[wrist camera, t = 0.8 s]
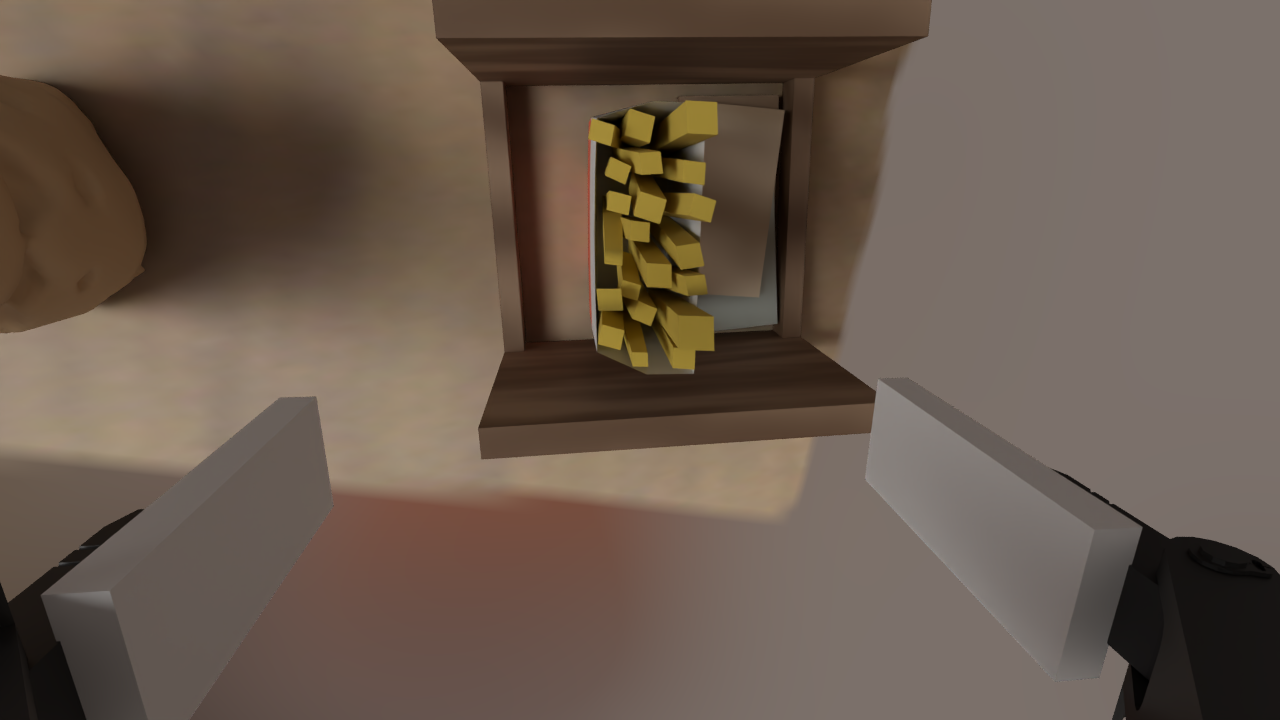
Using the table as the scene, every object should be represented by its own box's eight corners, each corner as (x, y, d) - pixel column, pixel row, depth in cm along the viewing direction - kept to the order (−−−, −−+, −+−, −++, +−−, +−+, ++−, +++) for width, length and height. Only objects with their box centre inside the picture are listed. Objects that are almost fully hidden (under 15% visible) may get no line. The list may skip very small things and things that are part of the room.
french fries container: (582, 303, 41) (591, 401, 23) (580, 125, 37) (590, 88, 20) (652, 303, 41) (711, 399, 24) (656, 127, 38) (728, 93, 21)
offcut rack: (482, 57, 36) (431, -9, 22) (803, 55, 38) (932, -7, 24) (509, 365, 41) (481, 459, 28) (789, 350, 43) (887, 431, 30)
